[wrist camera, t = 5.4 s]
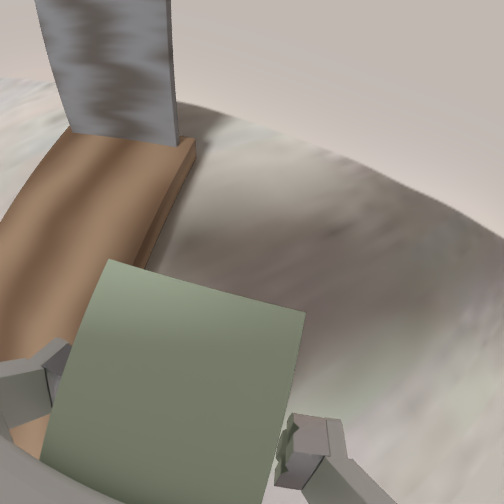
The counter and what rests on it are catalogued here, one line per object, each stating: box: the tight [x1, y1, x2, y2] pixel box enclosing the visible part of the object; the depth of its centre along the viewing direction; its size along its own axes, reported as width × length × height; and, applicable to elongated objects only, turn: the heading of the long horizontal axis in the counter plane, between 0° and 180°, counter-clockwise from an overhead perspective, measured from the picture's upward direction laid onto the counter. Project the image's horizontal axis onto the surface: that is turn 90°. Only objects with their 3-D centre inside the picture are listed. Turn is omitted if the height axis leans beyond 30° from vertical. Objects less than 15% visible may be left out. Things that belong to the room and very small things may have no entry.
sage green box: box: [39, 259, 306, 504], centre depth 10 cm, size 4×6×12 cm
